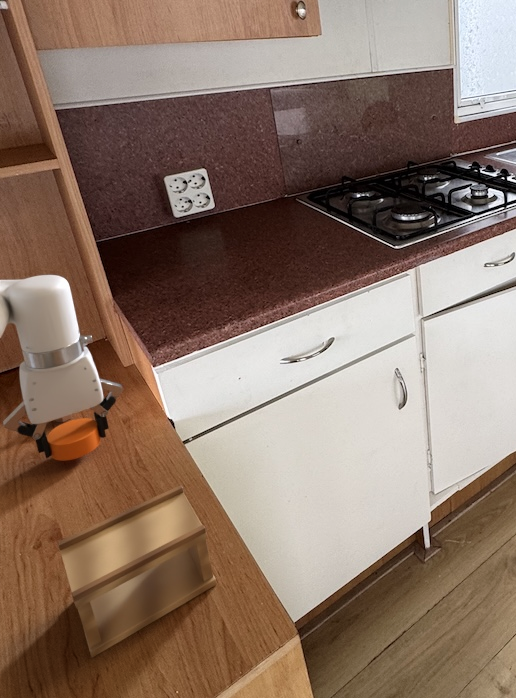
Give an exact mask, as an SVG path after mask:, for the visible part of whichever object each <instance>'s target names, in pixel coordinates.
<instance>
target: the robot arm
mask: <svg viewBox="0 0 516 698" xmlns="http://www.w3.org/2000/svg"><path fill="white" fill-rule="evenodd" d="M9 324H13V325H15V329H16V332H17V335H18V336H17V337H18V340H19V345H20V348H21V352H22V356H23V360H24V361H23V362H21V363H20V364H19V384H20V390H21V396H22V401H21V403H19V405H17V406H16V407H15V408H14V410H13V411H12V412H11V413H10V414H9V415H7V417H6V418H4V420H3V421H2V423H3V427H4V428H5V429H7V430H10V431H13V432H16V433H18V434H19V435H23V436H27V437H30V438H32V439H33V440H35V443H36V448H37V451H38V454H42V453H44V455H45V458H46V459H49V458H50V457H51V452H50V448H49V445H48V441H47V433H46V431H45V430H46V427H47V425H48V423H49V422H51V421H55V420H56V419H59V418H62V417H65V416H68V415H71V414H72V415H74V414H76V413H80V412H83V411H86V410H89V409H91V410H92V411H93V417H94V420H95V421H96V422H97V425H98V429H99V434H100V438H101V439H104V438H106V437H107V435H106V430H109V421H108V418H107V416H108V414H109V411H110V409H111V408H112V407H113V406H114V405H115V403H116V402H117V399H118V398H119V397H120V395H121V394H122V393H123V390H124V387H123V385H122V384H121V383H119V382H115V381H111V380H108V379H104V378H100V376H99V372H98V370H97V366H96V363H95V361H94V359H93V355H92V354H91V351H90V350H89V348H88V347H87V345H88V344H93V343H94V341H93V337H92V334H89V335H83V334H81V333H80V328H79V323H78V319H77V314H76V308H75V305H74V299H73V294H72V291H71V287H70V284H69V281H68V280H67V279H66V278H65V277H63V276H60V275H58V274H57V275H56V274H43V275H41V274H40V275H35V276H30V277H26V278H24V279H22V278H21V279H0V339H1V338H2V336H3V335H4V332H5V331H6V328H7V326H8V325H9ZM104 391H107V392H109V393H108V394H106V395H105V397H104ZM25 415H27V418H28V420H29V422H25V421H20V420H21V419H22V418H23V417H24V416H25Z"/></svg>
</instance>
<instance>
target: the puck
mask: <svg viewBox="0 0 516 698" xmlns="http://www.w3.org/2000/svg"><path fill="white" fill-rule="evenodd" d="M46 437H47V441H48V445H49V448H50V452H51V456H50V457H51V458H52V459H54V460H55V461H62V462H63V461H72V460H75V459H76V460H77V459H79V458H82V457H85V456H86V455H88V454H90V453H92V452H93V451H94V450H95V449H96V448H98V446H99V445H100V443H101V440H102V438H101V437H100V434H99V429H98V425H97V422H96V421H95V419H93V418H89V417H88V418H86V417H85V418H84V417H82V418H76V419H72V420H71V419H70V420H67V421H65V422H62V423H61V424H59V425H57V426H56V427H54V428H53V429H52V430H51V431H50V432H49V433H48V434H47V435H46Z"/></svg>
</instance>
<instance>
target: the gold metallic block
mask: <svg viewBox="0 0 516 698" xmlns="http://www.w3.org/2000/svg"><path fill="white" fill-rule="evenodd" d="M207 539H208V533H207V528H206V527H205V525H204V524H202V522H201V521H200V518H199V517H198V515H197V514H196V512H195V509H194V508H193V506H192V504H191V503H190V501H189V500H188V498H187V496H186V494H185V492H184V487H183V486H182V485H181V484H180V485H179V484H178V485H177V486H175V487H173V488H171V489H169V490H167V491H164V492H163V493H160V494H158V495H156V496H153V497H151V498H149V499H147V500H145V501H143V502H141V503H138V504H136V505H134V506H132V507H130V508H128V509H125V510H123V511H121V512H119V513H117V514H115V515H113V516H110V517H108V518H106V519H104V520H101V521H100V522H98V523H95V524H93V525H91V526H88V527H87V528H84V529H82V530H80V531H78V532H76V533H73V534H72V535H70V536H67V537H65V538H63V539H61V540H59V541H57V546H58V549H59V552H60V556H61V559H62V563H63V567H64V571H65V574H66V577H67V582H68V585H69V590H70V593H71V597H72V600H73V604H74V607H75V609H77V611H78V616H79V618H80V622H81V625H82V629H83V632H84V636H85V639H86V644H87V647H88V650H89V654H90V657H91V658H94V657H96V656H97V655H100V654H102V653H103V652H105V651H106V650H108V649H109V648H111V647H113V646H115V645H117V644H118V643H120V642H122V641H123V640H125V639H127V638H128V637H130V636H131V635H133V634H135V633H137V632H139V631H140V630H142V629H144V628H145V627H147V626H149V625H150V624H152V623H154V622H156V621H157V620H159V619H160V618H162V617H164V616H166V615H167V614H169V613H171V612H172V611H174V610H176V609H178V608H179V607H181V606H183V605H185V604H186V603H188V602H189V601H191V600H193V599H195V598H196V597H198V596H200V595H201V594H203V593H205V592H206V591H208V590H210V589H211V588H213V587H215V586H217V585H218V583H217V578H216V577H215V575H214V572H213V568H212V563H211V558H210V553H209V548H208V547H209V546H208V543H207Z"/></svg>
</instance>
